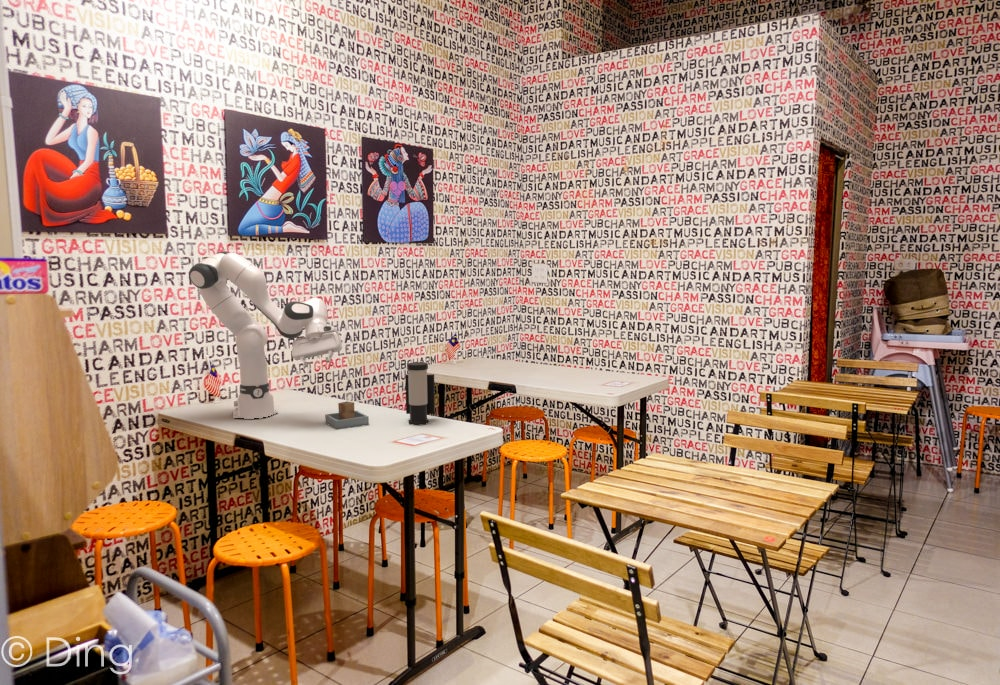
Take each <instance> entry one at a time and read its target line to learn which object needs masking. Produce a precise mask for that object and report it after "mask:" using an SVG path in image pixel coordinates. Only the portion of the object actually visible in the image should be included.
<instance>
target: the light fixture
mask: <svg viewBox="0 0 1000 685" xmlns="http://www.w3.org/2000/svg"><path fill="white" fill-rule="evenodd" d="M406 369H407V373H408V374H405V376H404V377H405V380H404V381H405V412H406V415H409V420H408V424H409V425H410V424H414V425H413V426H420V425H419V424H425V425H427V424H426V423H428V422H429V423H430V419H428V415H431V414H432V415H435V413H436V400H435V397H436V396H435V394H436V393H435V374H434V373H433V374H431V373H428V369H429V364H428V362H424V361H417V362H416V361H415V362H408V363H406ZM429 423H428V424H429Z"/></svg>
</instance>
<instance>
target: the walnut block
mask: <svg viewBox="0 0 1000 685" xmlns="http://www.w3.org/2000/svg"><path fill="white" fill-rule="evenodd" d="M337 405H338V408H337V409H338V413H339V420H342V419H350V418H355V412H354V411H355V402H354V401H348V400H346V401H341V402H338V404H337Z"/></svg>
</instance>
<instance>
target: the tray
mask: <svg viewBox="0 0 1000 685" xmlns="http://www.w3.org/2000/svg"><path fill="white" fill-rule="evenodd" d="M354 412H355V418H350V419H342V420H339V412H335V413H327V414H326V413H325V415H324V416H325V417H324V419H325V420H324V421H325V422H326V423H325V424H327V425H328V424H329V425H328V426H330V427H332V428H333V427H334V429H335V430H342V429H341V428H343V429H349V428H348V427H350V428H356V427H355V426H357V427H362V425H365V426H369V425H370V422H369V419H370V418H369V415H367V414H365V413H363V412H360V411H358V410H354ZM368 424H369V425H368Z"/></svg>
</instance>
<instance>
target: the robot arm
mask: <svg viewBox="0 0 1000 685" xmlns="http://www.w3.org/2000/svg"><path fill="white" fill-rule="evenodd" d="M188 278H189V280H190V282H191V284H192V285H193V286H194V287H196V288H198V289H199V293H200V295H201V297H202V299H203V301H204V302H205V304H206V305H207V306H208V308H209V309H210V310H211V312H212V313H213V314H214V315H215V316H216V318H217V319H218V321H219V322H220V323H221V324H222V326H224V327H226V329H228V330H229V331H230V332H231V333H232V334H233V335H234V336H235V347H236V353H237V357H238V364H239V372H240V373H239V374H240V384H239V395H238V397H237V400H235V401H233V407H236V408H235V409H233V411H232V419H234V418H244V419H243V420H255V419H254V418H259V419H264V418H263V417H266V418H269V417H268V416H270V417H272V416H273V414H274V415H277V414H279V410H277V409H275V401H274V395H273V394H271V393H270V383H269V378H268V364H267V360H266V359H267V358H266V353H265V352H266V351H265V346H266V344H267V343H268V340H269V337H268V332H267V331H266V329H265V328H264V327H263V325H262V324H260V323H259V322H258V321H257V319H256V318H255V317H253V316H252V314H251V313H249V312H248V311H247V309H246V308H245V307H244V306H243V304H242V303H241V302H240V301H239V300H238V299H237V297H236V296H235V295H234V294H233V292H232V291H231V290H230V288H229V287H228V285H227V281H229V282H231V283H232V284H233V285H235V287H237V288H238V289H239V290H240V291H242V292H243V294H244V295H245V296H246V297H247V298H248V300H250V302H251V303H252V304H253V305H254V306H255V307H256V309H257V310H259V311H260V312H261V313H262V314H263V315H264V317H266V318H267V319H268V320H269V321H270V322H271V323H272V324H273V325H274V326H275V328H276V330H277V331H278V333H279V334H280V335H281V336H282V337H284V338H285V339H290V340H291V339H295V340H293V341H292V345H291V346H292V349H291V357H292V358H293V359H294V360H295V361H301V362H302V366H303V368H309V363H308V362H307V361H306V360H307V359H310V358H315V357H319V356H323V355H327V354H328V355H327V356H325V362H326V363H327V364H328V363H332V357H333V356H334V353H337V352H341V351H342V349H343V342H342V339H341V337H340V336H341V335H340V332H339V331H338V329H337V327H335V326H333V325H327V324H328V316H329V315H328V309H327V308H328V307H327V305H326V303H325V301H324V300H322V299H321V298H319V297H318V298H317V297H312V298H309V299H307V300H304V301H297V300H296V301H294V300H293V301H290V302H288V303H287V304H285V306H284V308H283V310H282V309H281V308H279V307H278V305H276V303H274V302H273V300H272V299H271V298H270V295H269V291H268V286H267V278H266V276H265V274H264V273H263V271H261V270H260V268H258V267H257V266H256V265H255V264H253V263H252V262H251V261H250V260H248V259H246V258H245V257H243V256H242V255H239V254H237V253H236V252H230V251H219V252H216V253H215V254H212V255H210V256H207V257H205V258H204V259H202V260H201V261H200V262H198V263H195V264H194V265H193V266H191V268H190V269H189V271H188ZM304 328H305V336H304V337H301V335H302V334H303V331H304ZM299 337H300V338H299ZM276 413H277V414H276ZM271 415H272V416H271Z"/></svg>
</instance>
